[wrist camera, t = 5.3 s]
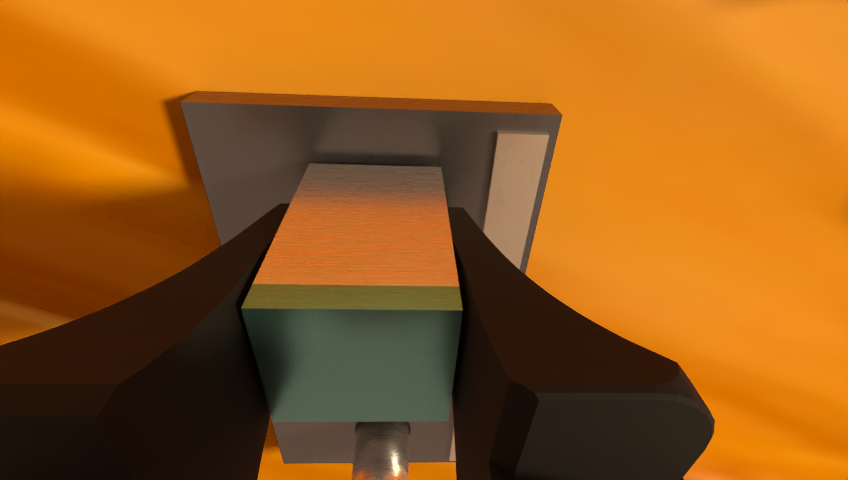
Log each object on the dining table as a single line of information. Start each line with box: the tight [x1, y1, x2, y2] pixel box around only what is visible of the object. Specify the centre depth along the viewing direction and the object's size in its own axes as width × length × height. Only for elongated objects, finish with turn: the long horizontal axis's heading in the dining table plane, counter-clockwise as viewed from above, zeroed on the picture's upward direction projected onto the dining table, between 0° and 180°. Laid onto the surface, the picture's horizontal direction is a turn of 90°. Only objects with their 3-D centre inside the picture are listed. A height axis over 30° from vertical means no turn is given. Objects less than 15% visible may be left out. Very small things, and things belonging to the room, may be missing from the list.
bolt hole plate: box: [180, 91, 562, 464], centre depth 16 cm, size 18×10×1 cm, turn 178°
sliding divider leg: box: [241, 163, 463, 422], centre depth 10 cm, size 3×4×6 cm
